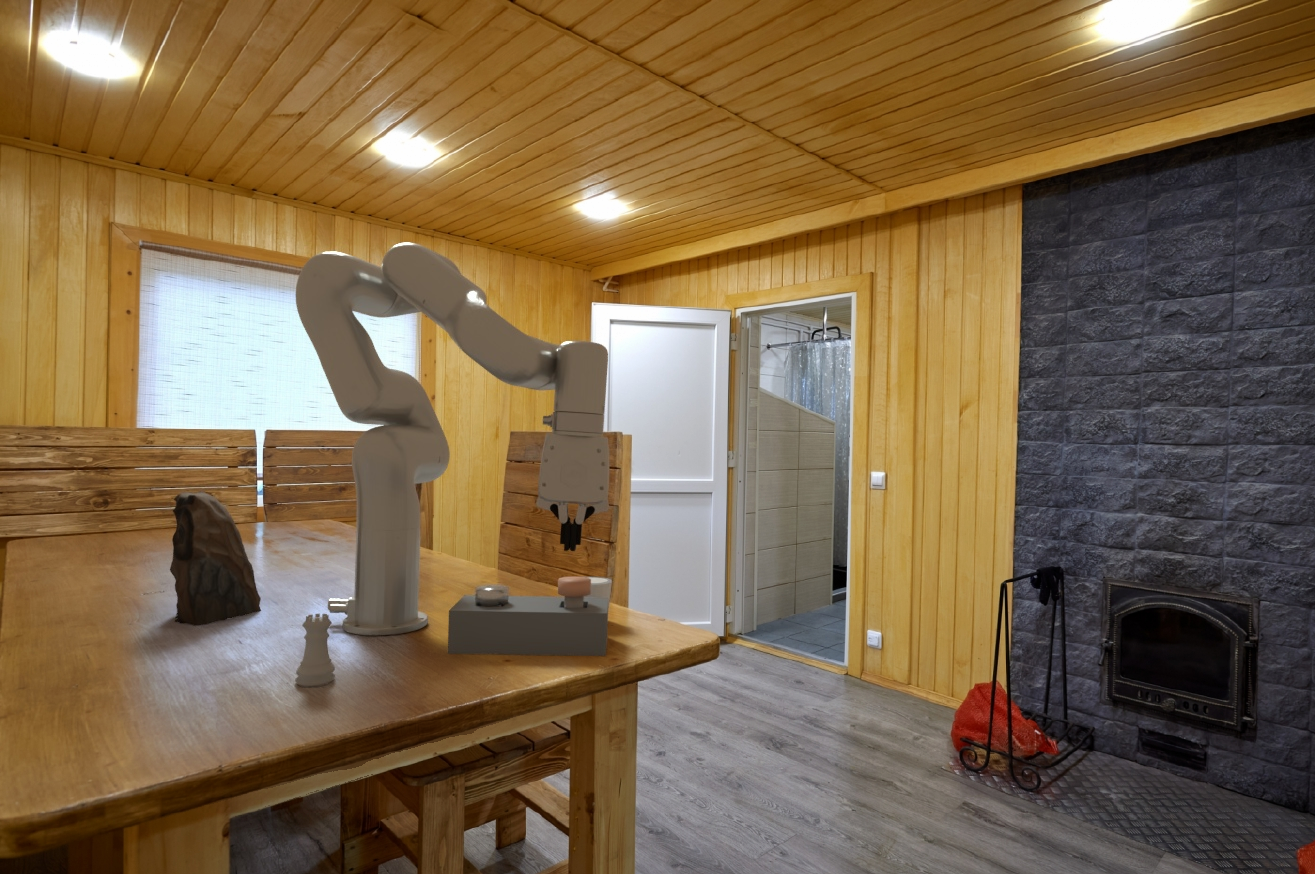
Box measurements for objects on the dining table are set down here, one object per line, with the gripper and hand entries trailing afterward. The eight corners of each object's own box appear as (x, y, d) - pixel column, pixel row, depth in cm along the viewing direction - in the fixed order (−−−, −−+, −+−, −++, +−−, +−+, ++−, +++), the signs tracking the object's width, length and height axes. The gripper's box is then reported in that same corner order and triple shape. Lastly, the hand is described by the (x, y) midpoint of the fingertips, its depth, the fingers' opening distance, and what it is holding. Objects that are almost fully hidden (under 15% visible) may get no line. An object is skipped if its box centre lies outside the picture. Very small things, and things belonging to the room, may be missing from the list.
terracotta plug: (555, 634, 103) (556, 582, 103) (558, 625, 108) (559, 576, 108) (588, 635, 103) (590, 583, 103) (590, 626, 108) (591, 576, 108)
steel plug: (470, 643, 102) (472, 591, 102) (477, 634, 107) (478, 584, 107) (504, 644, 103) (506, 591, 103) (509, 634, 107) (511, 584, 107)
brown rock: (193, 628, 108) (197, 496, 108) (135, 619, 113) (140, 492, 113) (264, 610, 120) (268, 491, 120) (210, 602, 125) (214, 488, 125)
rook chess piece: (308, 690, 84) (310, 622, 84) (287, 682, 86) (289, 616, 86) (343, 680, 88) (345, 615, 88) (321, 673, 90) (323, 609, 90)
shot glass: (614, 617, 123) (615, 576, 123) (607, 627, 116) (608, 584, 116) (574, 615, 123) (575, 574, 123) (565, 625, 116) (566, 582, 116)
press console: (447, 653, 100) (448, 610, 100) (463, 634, 110) (464, 594, 110) (605, 655, 101) (607, 613, 101) (607, 636, 111) (608, 597, 111)
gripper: (523, 422, 102) (515, 550, 102) (628, 429, 102) (620, 557, 102) (530, 422, 109) (522, 542, 109) (628, 429, 110) (620, 548, 110)
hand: (570, 549), depth 106 cm, fingers closed
